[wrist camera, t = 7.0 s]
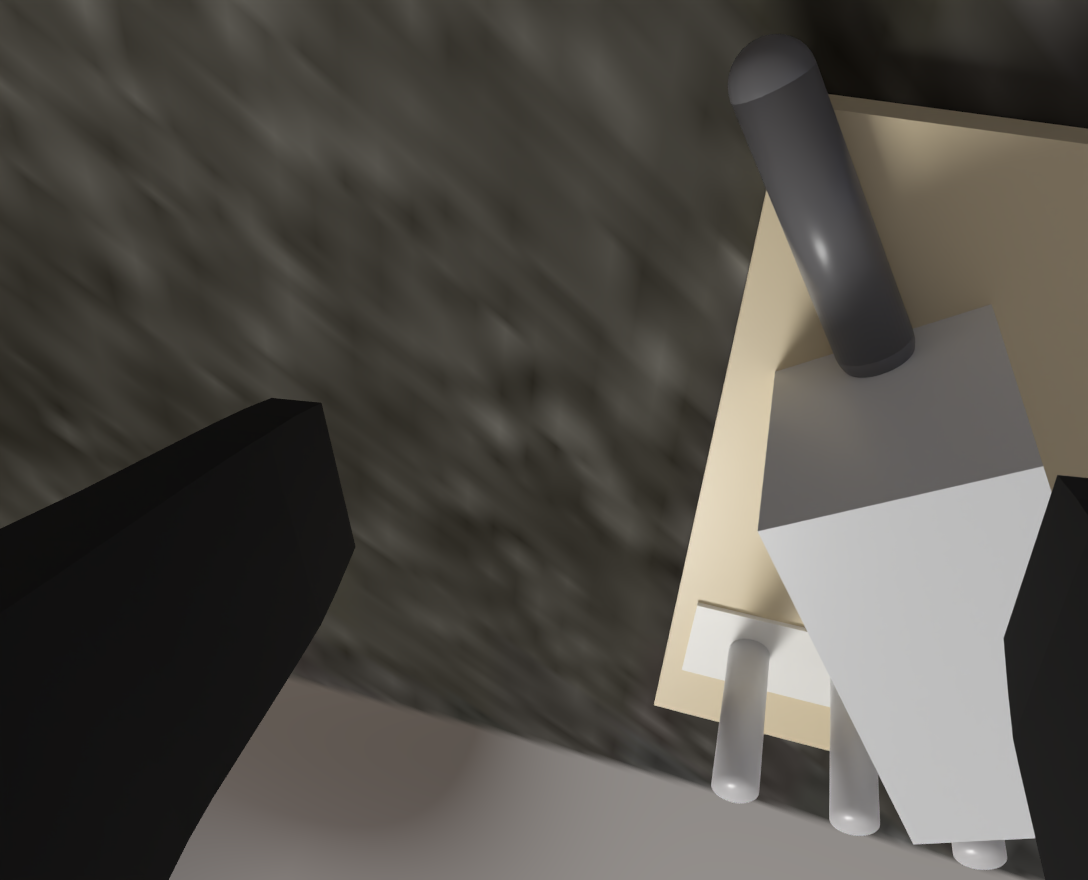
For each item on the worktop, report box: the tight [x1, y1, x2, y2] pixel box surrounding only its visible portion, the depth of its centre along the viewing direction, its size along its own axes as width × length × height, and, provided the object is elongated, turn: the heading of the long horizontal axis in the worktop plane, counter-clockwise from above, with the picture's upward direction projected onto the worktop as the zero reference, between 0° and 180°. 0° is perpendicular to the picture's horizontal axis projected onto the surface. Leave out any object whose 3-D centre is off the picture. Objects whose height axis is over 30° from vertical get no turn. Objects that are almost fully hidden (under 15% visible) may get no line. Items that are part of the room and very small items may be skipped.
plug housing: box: [728, 34, 1052, 844], centre depth 15 cm, size 4×14×5 cm, turn 29°
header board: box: [654, 94, 1088, 870], centre depth 18 cm, size 9×16×5 cm, turn 176°
